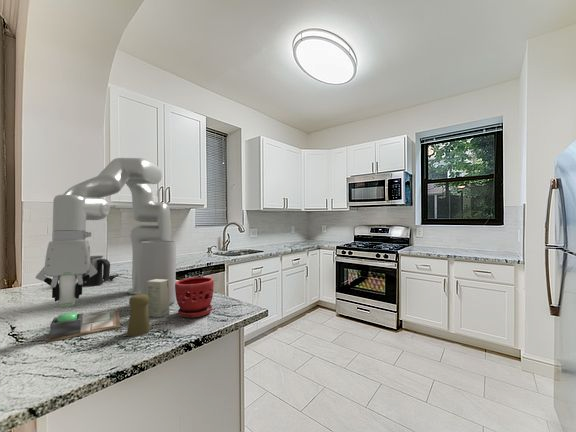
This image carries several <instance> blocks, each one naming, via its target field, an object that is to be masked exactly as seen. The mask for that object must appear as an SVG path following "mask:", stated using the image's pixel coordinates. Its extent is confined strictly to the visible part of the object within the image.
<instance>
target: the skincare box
mask: <svg viewBox="0 0 576 432" xmlns="http://www.w3.org/2000/svg"><path fill="white" fill-rule="evenodd" d="M147 295H148V297H149V303H148V304H147V310H148V317H157V318H162V317H163V316H164V317H165V316H167V315H169V314H170V305H169V280H166V279H154V280H150V281H147Z"/></svg>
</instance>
